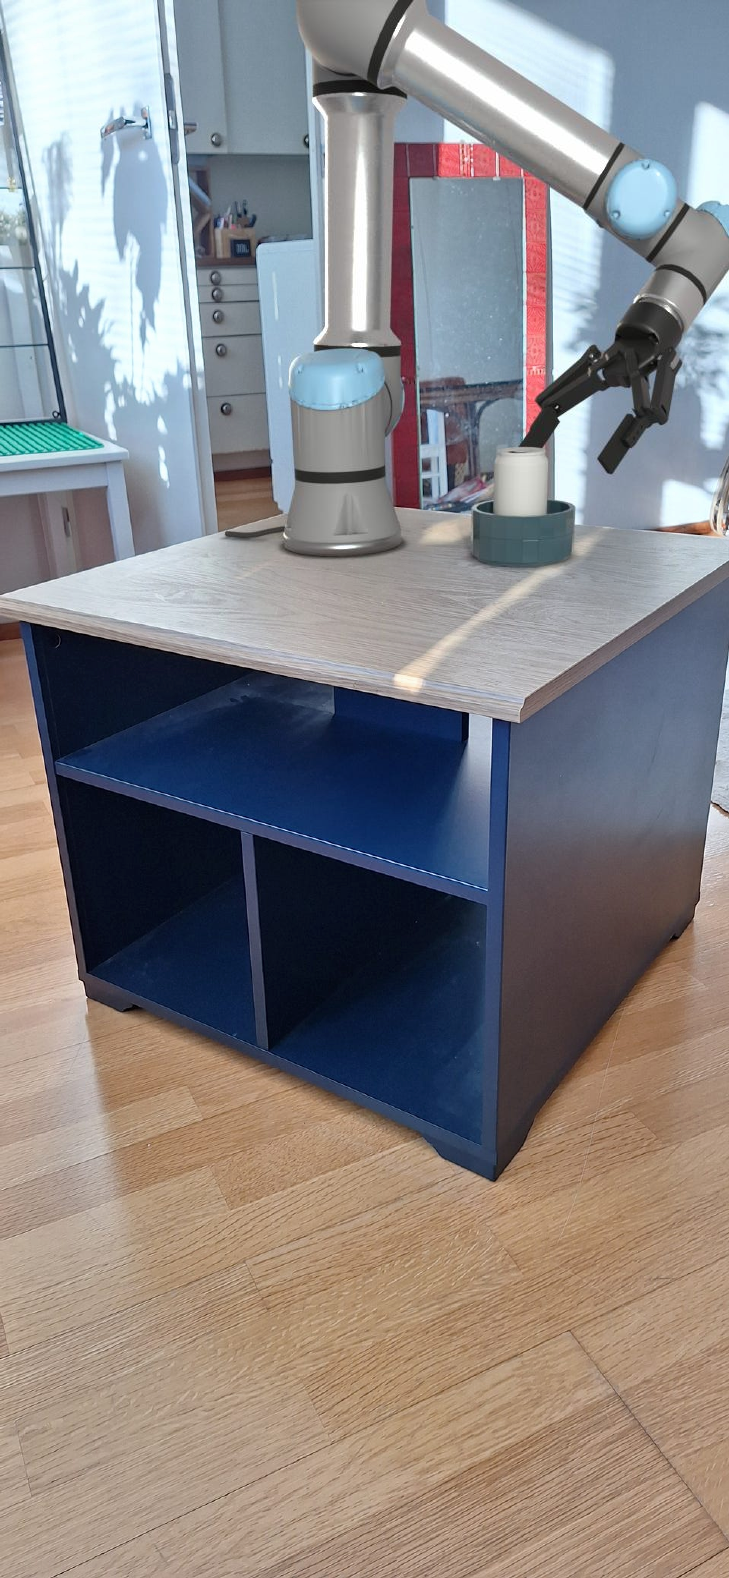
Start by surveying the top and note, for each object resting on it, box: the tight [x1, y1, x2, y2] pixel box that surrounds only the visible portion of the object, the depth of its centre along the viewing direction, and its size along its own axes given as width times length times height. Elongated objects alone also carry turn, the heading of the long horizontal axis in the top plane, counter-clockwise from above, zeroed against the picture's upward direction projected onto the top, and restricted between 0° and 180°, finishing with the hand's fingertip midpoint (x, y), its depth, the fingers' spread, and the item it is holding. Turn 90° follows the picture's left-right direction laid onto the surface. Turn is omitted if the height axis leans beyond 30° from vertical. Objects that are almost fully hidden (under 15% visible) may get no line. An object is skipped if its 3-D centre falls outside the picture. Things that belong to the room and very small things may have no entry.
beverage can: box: [493, 446, 550, 516], centre depth 133 cm, size 6×6×12 cm
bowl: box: [470, 498, 576, 568], centre depth 134 cm, size 12×12×6 cm
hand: (562, 461), depth 135 cm, fingers open, 13 cm apart
